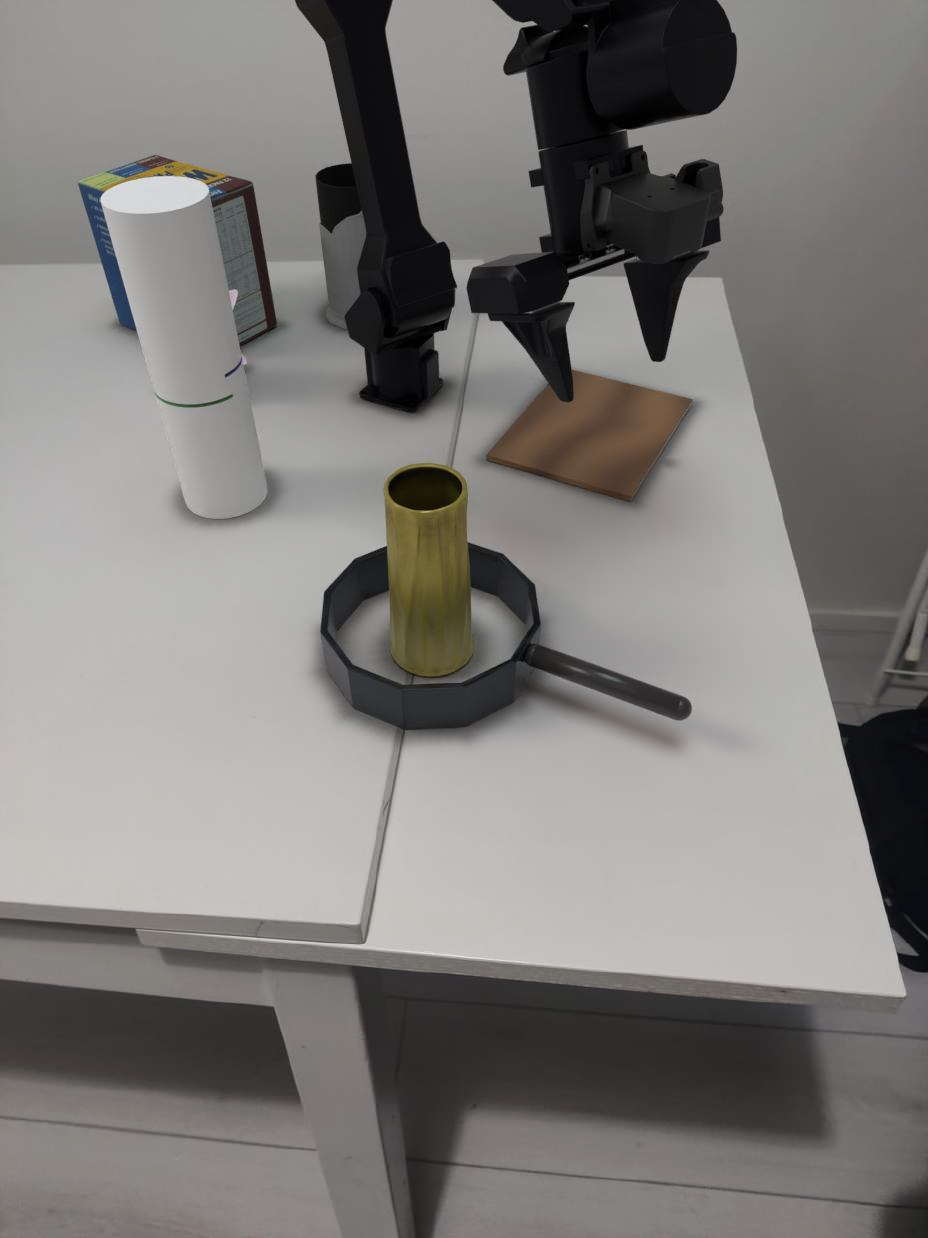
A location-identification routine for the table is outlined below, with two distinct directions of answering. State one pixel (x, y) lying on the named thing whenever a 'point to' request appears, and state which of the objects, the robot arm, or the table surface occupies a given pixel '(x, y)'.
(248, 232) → the protein box
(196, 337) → the cylindrical container
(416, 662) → the vase
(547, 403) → the wooden board
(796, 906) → the table surface
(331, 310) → the glass holder
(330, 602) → the pan
